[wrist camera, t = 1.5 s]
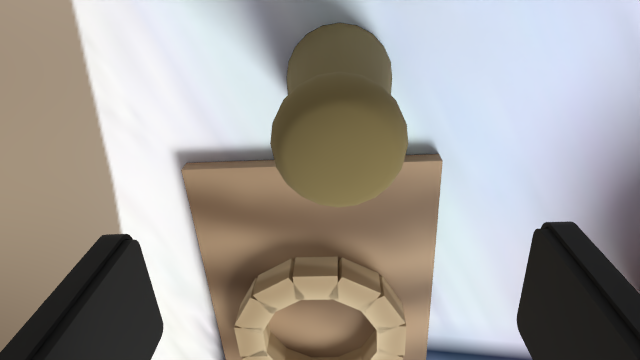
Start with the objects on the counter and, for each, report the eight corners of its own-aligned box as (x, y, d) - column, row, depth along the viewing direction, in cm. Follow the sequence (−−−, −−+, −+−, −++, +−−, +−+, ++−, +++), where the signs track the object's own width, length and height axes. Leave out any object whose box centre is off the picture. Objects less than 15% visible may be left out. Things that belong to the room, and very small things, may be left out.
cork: (303, 7, 23) (277, 48, 13) (409, 43, 24) (457, 107, 14) (275, 110, 26) (235, 206, 16) (369, 140, 26) (387, 250, 17)
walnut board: (186, 162, 28) (181, 169, 27) (439, 154, 27) (442, 160, 26) (233, 371, 37) (231, 382, 36) (421, 371, 36) (423, 381, 35)
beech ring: (230, 258, 30) (223, 278, 28) (404, 255, 29) (408, 274, 27) (253, 374, 35) (248, 396, 34) (399, 373, 35) (402, 396, 33)
